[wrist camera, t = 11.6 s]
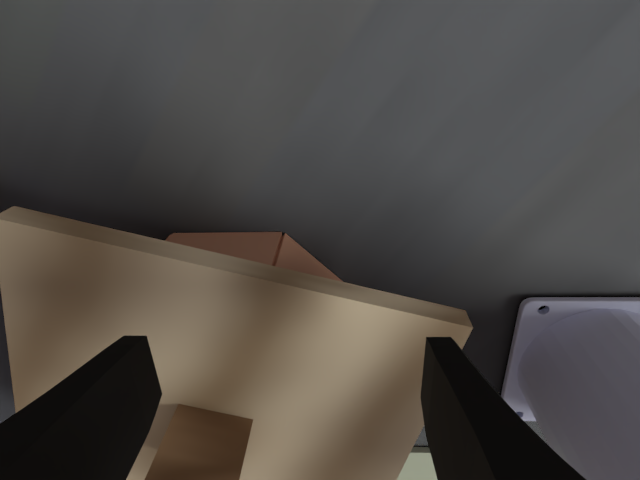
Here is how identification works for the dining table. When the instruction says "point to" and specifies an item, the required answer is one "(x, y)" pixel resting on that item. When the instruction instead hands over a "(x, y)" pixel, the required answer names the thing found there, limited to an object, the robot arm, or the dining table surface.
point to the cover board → (224, 351)
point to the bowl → (257, 249)
